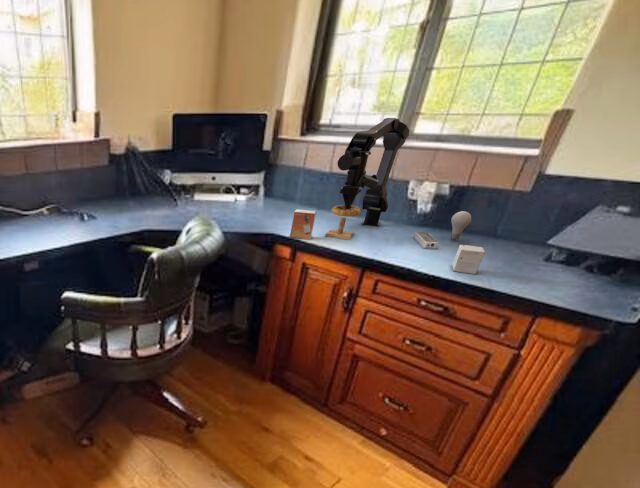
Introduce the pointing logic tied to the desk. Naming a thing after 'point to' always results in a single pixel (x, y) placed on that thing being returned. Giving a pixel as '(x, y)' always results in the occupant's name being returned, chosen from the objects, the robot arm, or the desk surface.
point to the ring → (346, 210)
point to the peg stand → (340, 231)
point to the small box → (302, 224)
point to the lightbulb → (459, 223)
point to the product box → (468, 259)
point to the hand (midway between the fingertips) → (348, 208)
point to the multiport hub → (426, 240)
